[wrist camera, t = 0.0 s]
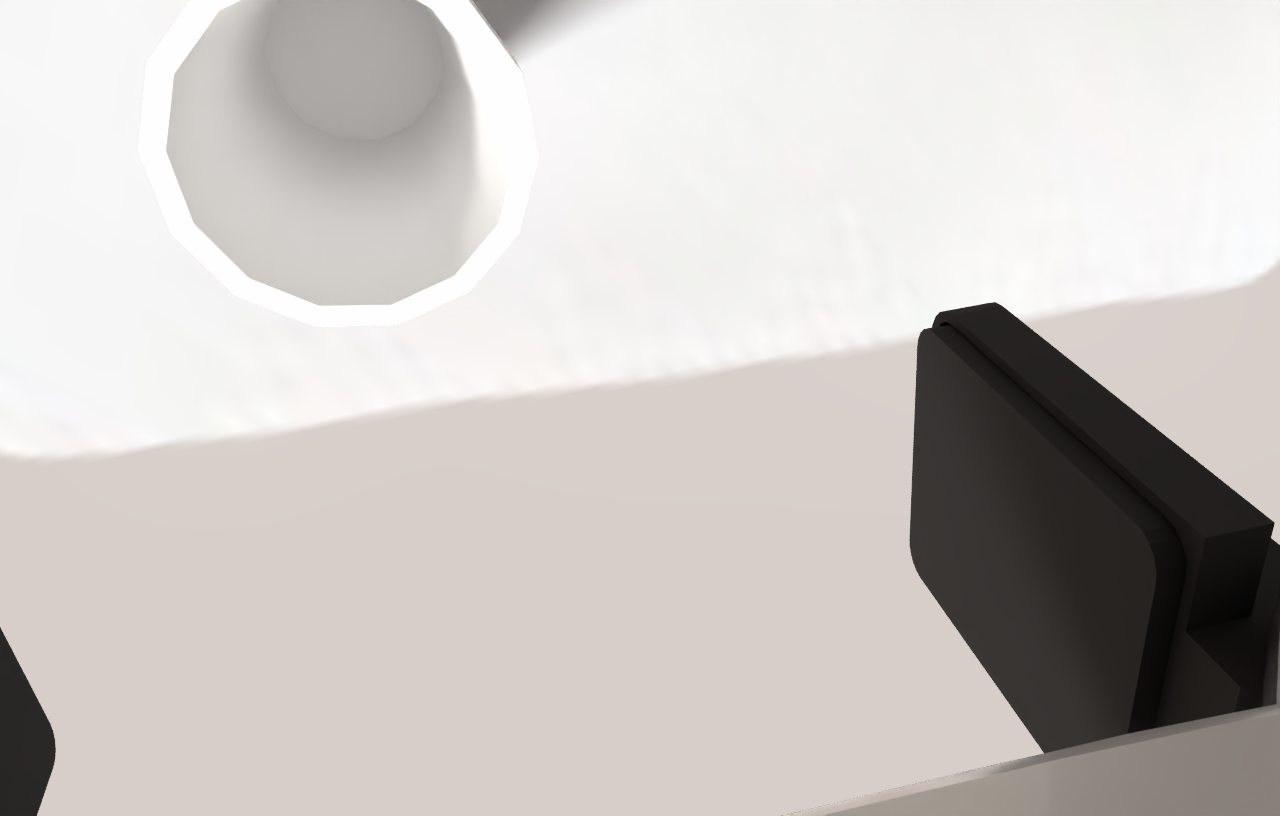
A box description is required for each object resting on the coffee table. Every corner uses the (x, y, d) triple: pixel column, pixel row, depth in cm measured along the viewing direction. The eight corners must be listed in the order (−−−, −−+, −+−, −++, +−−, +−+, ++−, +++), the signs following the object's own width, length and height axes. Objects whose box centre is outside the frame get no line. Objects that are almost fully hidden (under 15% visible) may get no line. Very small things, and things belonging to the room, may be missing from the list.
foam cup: (514, 155, 40) (565, 286, 29) (267, 208, 39) (223, 364, 28) (454, -122, 36) (488, -91, 24) (171, -70, 35) (72, -14, 23)
